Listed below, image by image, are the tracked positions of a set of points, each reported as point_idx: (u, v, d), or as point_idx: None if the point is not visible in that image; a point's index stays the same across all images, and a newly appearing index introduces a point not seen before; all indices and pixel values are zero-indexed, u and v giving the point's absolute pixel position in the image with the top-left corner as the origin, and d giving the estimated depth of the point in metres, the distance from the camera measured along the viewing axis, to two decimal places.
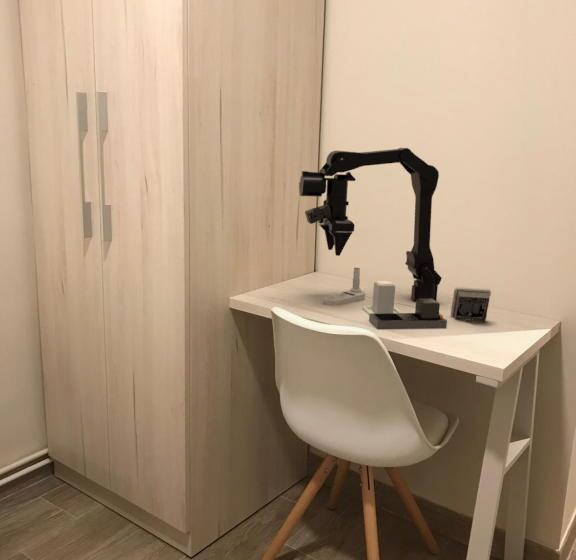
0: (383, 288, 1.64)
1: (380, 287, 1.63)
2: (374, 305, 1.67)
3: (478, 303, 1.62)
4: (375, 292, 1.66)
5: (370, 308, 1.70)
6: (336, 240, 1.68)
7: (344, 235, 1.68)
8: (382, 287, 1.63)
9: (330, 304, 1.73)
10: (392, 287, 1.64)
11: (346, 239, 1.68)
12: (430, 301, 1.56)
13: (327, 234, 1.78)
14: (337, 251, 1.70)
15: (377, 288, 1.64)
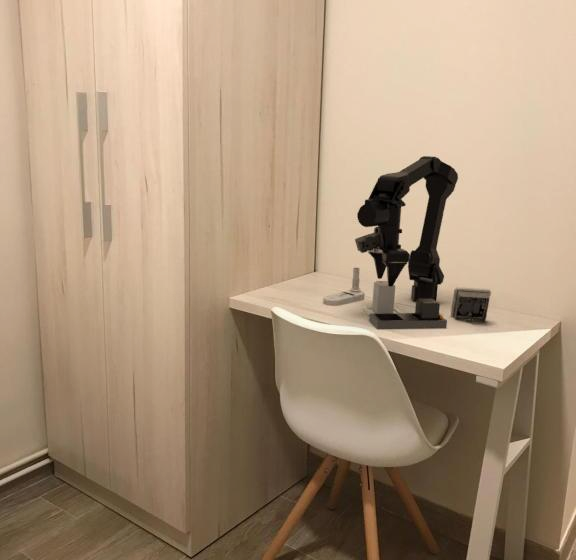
0: (383, 288, 1.64)
1: (380, 287, 1.63)
2: (374, 305, 1.67)
3: (478, 303, 1.62)
4: (375, 292, 1.66)
5: (370, 308, 1.70)
6: (389, 270, 1.59)
7: (398, 265, 1.59)
8: (382, 287, 1.63)
9: (330, 304, 1.73)
10: (392, 287, 1.64)
11: (400, 269, 1.59)
12: (430, 301, 1.56)
13: (377, 262, 1.69)
14: (390, 282, 1.60)
15: (377, 288, 1.64)
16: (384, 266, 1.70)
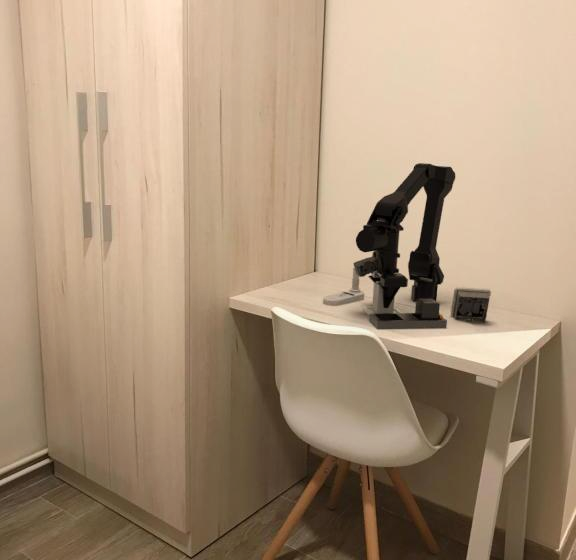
0: None
1: (380, 287, 1.63)
2: (374, 305, 1.67)
3: (478, 303, 1.62)
4: (375, 292, 1.66)
5: (370, 308, 1.70)
6: (385, 293, 1.62)
7: (393, 288, 1.62)
8: None
9: (330, 304, 1.73)
10: None
11: (395, 292, 1.62)
12: (430, 301, 1.56)
13: None
14: (385, 304, 1.64)
15: (377, 288, 1.64)
16: None
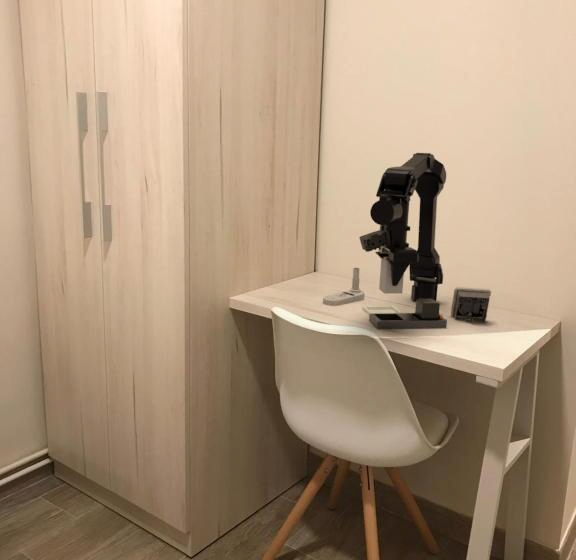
0: None
1: (388, 263, 1.51)
2: (382, 283, 1.54)
3: (478, 303, 1.62)
4: (382, 269, 1.54)
5: (370, 308, 1.70)
6: (394, 269, 1.49)
7: (403, 263, 1.49)
8: None
9: (330, 304, 1.73)
10: None
11: (405, 268, 1.50)
12: (430, 301, 1.56)
13: None
14: (394, 281, 1.51)
15: (385, 264, 1.51)
16: None
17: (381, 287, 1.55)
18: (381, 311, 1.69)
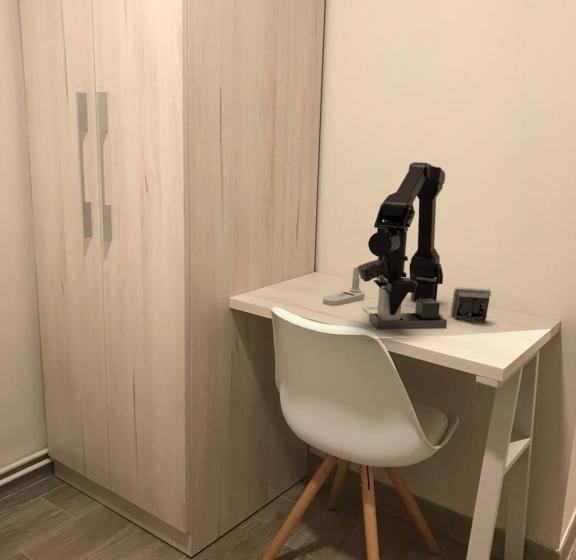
0: None
1: (386, 292, 1.52)
2: (380, 312, 1.56)
3: (478, 303, 1.62)
4: (380, 298, 1.55)
5: (370, 308, 1.70)
6: (392, 299, 1.51)
7: (400, 293, 1.51)
8: None
9: (330, 304, 1.73)
10: None
11: (403, 297, 1.51)
12: (430, 301, 1.56)
13: None
14: (392, 310, 1.53)
15: (383, 294, 1.53)
16: None
17: (379, 316, 1.56)
18: None
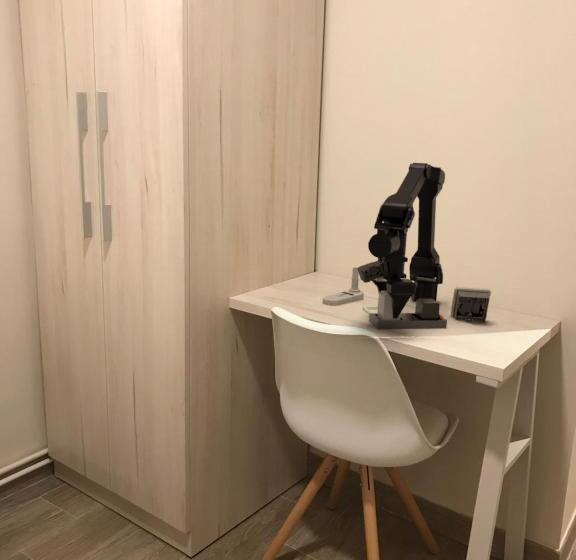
0: (389, 298, 1.53)
1: (386, 297, 1.52)
2: (379, 317, 1.56)
3: (478, 303, 1.62)
4: (380, 303, 1.55)
5: (370, 308, 1.70)
6: (394, 302, 1.49)
7: (403, 296, 1.49)
8: (388, 297, 1.53)
9: (330, 304, 1.73)
10: None
11: (406, 301, 1.49)
12: (430, 301, 1.56)
13: (380, 291, 1.59)
14: (395, 314, 1.51)
15: (383, 299, 1.53)
16: None
17: None
18: None
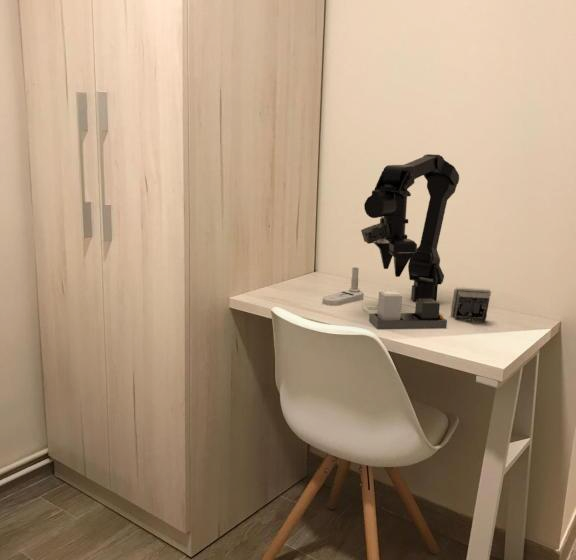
0: (389, 298, 1.53)
1: (386, 297, 1.52)
2: (379, 317, 1.56)
3: (478, 303, 1.62)
4: (380, 303, 1.55)
5: (370, 308, 1.70)
6: (397, 261, 1.59)
7: (405, 255, 1.59)
8: (388, 297, 1.53)
9: (329, 304, 1.73)
10: (398, 297, 1.53)
11: (407, 259, 1.59)
12: (430, 301, 1.56)
13: (383, 252, 1.69)
14: (397, 272, 1.61)
15: (383, 299, 1.53)
16: (390, 256, 1.70)
17: None
18: None
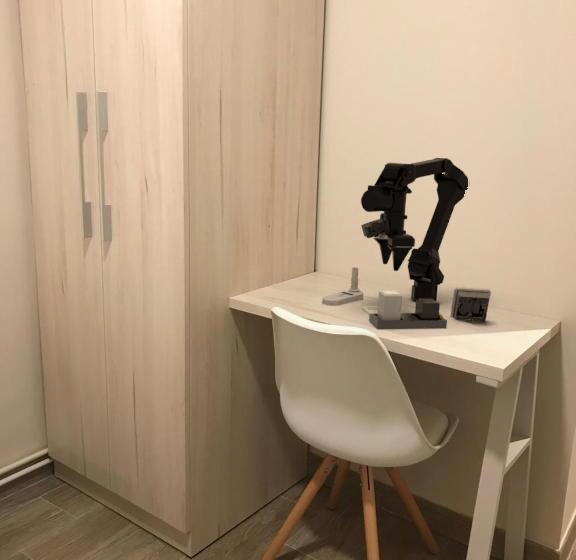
0: (389, 298, 1.53)
1: (386, 297, 1.52)
2: (379, 317, 1.56)
3: (478, 303, 1.62)
4: (380, 303, 1.55)
5: (370, 308, 1.70)
6: (395, 255, 1.63)
7: (403, 250, 1.63)
8: (388, 297, 1.53)
9: (329, 304, 1.73)
10: (398, 297, 1.53)
11: (405, 254, 1.63)
12: (430, 301, 1.56)
13: (382, 248, 1.74)
14: (395, 266, 1.65)
15: (383, 299, 1.53)
16: (389, 252, 1.74)
17: None
18: None
